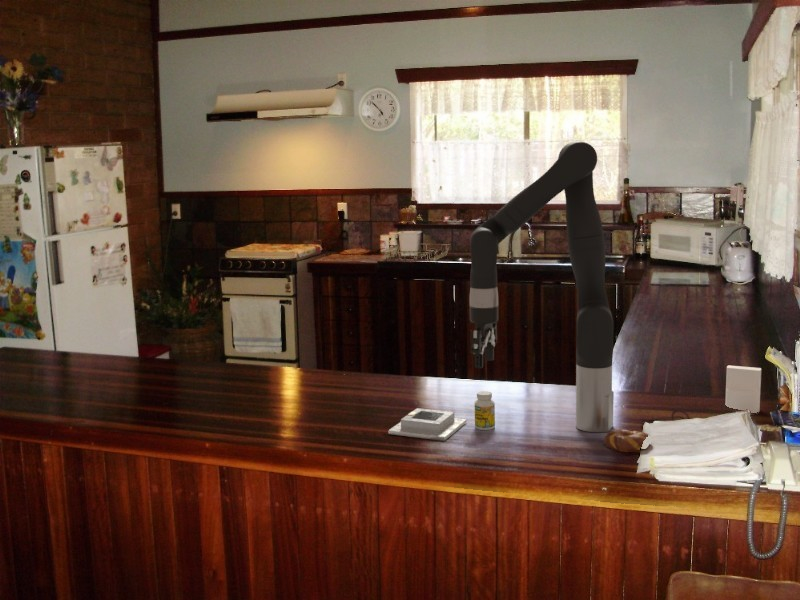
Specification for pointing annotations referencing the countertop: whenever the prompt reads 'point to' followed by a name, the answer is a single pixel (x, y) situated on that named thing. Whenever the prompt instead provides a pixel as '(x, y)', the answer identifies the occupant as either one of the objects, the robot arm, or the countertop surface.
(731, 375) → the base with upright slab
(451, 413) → the white square holder
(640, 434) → the pretzel
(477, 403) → the supplement bottle
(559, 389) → the countertop surface
